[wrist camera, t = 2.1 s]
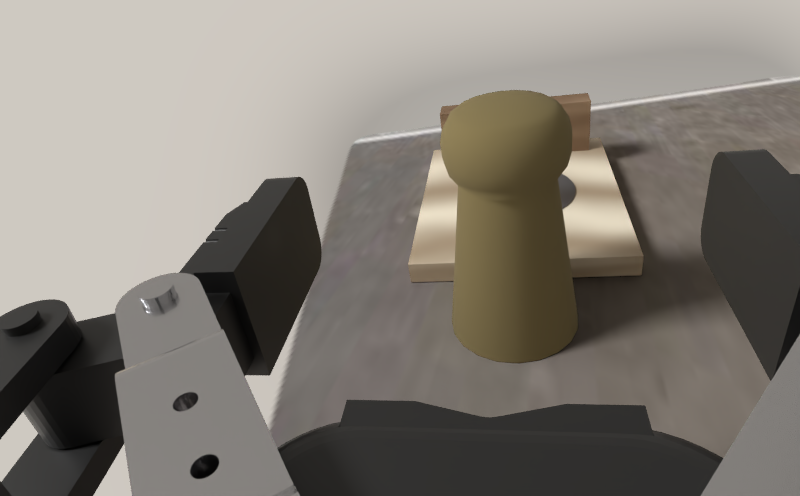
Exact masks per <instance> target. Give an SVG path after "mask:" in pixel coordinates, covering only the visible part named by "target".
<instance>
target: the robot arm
mask: <svg viewBox="0 0 800 496" xmlns="http://www.w3.org/2000/svg"><path fill="white" fill-rule="evenodd" d="M701 244H702V251H703V255H704V257H705V260H706V262H707V263H708V265H709V267H710V269H711V271H712V273H713V275H714V276H715V278H716V280H717V282H718V284H719V286H720V288H721V289H722V291H723V293H724V295H725V297H726V299H727V301H728V302H729V304H730V306H731V308H732V310H733V312H734V314H735V316H736V317H737V319H738V321H739V323H740V325H741V327H742V329H743V330H744V332H745V334H746V336H747V338H748V340H749V342H750V343H751V345H752V347H753V349H754V351H755V353H756V355H757V356H758V358H759V360H760V362H761V364H762V366H763V368H764V369H765V371H766V373H767V375H768V377H769V379H770V381H771V382H770V383H769V385H768V387H767V388H766V390H765V392H764V393H763V395H762V397H761V398H760V400H759V401H758V403H757V405H756V406H755V408H754V410H753V411H752V413H751V414H750V416H749V418H748V419H747V421H746V423H745V424H744V426H743V427H742V429H741V431H740V432H739V434H738V436H737V437H736V439H735V441H734V442H733V444H732V445H731V447H730V449H729V450H728V452H727V454H726V455H725V457H724V458H722V457H720V456H718V455H716V454H714V453H712V452H711V451H709V450H707V449H705V448H703V447H701V446H698V445H696V444H693V443H691V442H689V441H686V440H684V439H681V438H678V437H675V436H672V435H669V434H666V433H662V432H658V431H654V430H652V429H651V425H650V421H649V418H648V414H647V410H646V407H645V406H641V405H588V404H564V405H559V406H553V407H548V408H542V409H537V410H531V411H526V412H521V413H515V414H510V415H504V416H499V417H492V418H489V417H480V416H476V415H471V414H467V413H463V412H459V411H454V410H450V409H446V408H442V407H437V406H433V405H429V404H425V403H420V402H416V401H377V400H347V402H346V405H345V409H344V412H343V416H342V419H341V422H338V423H333V424H330V425H326V426H323V427H320V428H316V429H314V430H311V431H309V432H306V433H304V434H302V435H300V436H298V437H296V438H294V439H292V440H290V441H288V442H286V443H285V444H283V445H281V446H280V447H278V448H277V447H276V445H275V443H274V440H273V438H272V436H271V434H270V432H269V429H268V427H267V425H266V423H265V420H264V419H263V416H262V414H261V412H260V409H259V407H258V405H257V403H256V401H255V398H254V396H253V394H252V392H251V389H250V387H249V385H248V383H247V381H246V379H245V375H270V374H271V371H272V369H273V367H274V365H275V363H276V361H277V359H278V357H279V354H280V352H281V350H282V348H283V346H284V344H285V341H286V339H287V337H288V335H289V333H290V331H291V328H292V326H293V324H294V322H295V320H296V318H297V315H298V313H299V311H300V309H301V307H302V304H303V302H304V300H305V298H306V296H307V294H308V291H309V289H310V287H311V285H312V283H313V281H314V278H315V276H316V274H317V272H318V270H319V267H320V263H321V242H320V237H319V233H318V229H317V225H316V221H315V217H314V213H313V209H312V205H311V201H310V197H309V192H308V188H307V186H306V183H305V181H304V180H303V179H302V178H301V177H292V178H275V179H266V180H265V181H264V182H263V183H262V184H261V186H260V187H259V188H258V190H257V191H256V192H255V193H254V195H253V196H252V197H251V199H250V200H249V201H248V202H244V203H243V204H241V205H240V206H239V207H237V208H235V209H234V210H232V211H231V212H229V213H228V214H226V215H225V217H224V218H223V219H222V220H221V221H220V223H219V224H218V225H217V226H216V228H215V231H212V233H211V234H210V235H209V236H208V237H207V239H206V242H205V243H203V244H202V245H201V246H200V247H199V249H198V250H197V251H196V253H195V254H194V255H193V256H192V257H191V258H190V260H189V261H188V262H187V263H186V265H185V266H184V267H183V268H182V270H181V271H180V272H179V273H171V274H166V275H161V276H158V277H155V278H152V279H150V280H147V281H145V282H143V283H141V284H139V285H137V286H136V287H134V288H133V289H131V290H130V291H128V292H127V293H126V294H125V295H124V296H123V297H122V298H121V299H120V301H119V302H118V304H117V306H116V309H115V314H110V315H106V316H101V317H97V318H92V319H88V320H84V321H79V322H76V320H75V318H74V316H73V315H72V313H71V311H70V309H69V307H68V306H67V304H66V303H64V302H63V301H60V300H42V301H37V302H33V303H29V304H26V305H24V306H21V307H18V308H16V309H14V310H12V311H10V312H8V313H6V314H4V315H2V316H1V317H0V439H1V437H2V436H3V435H4V434H5V433H6V431H7V430H8V429H9V428H10V426H11V425H12V424H13V423H14V422H15V421H16V419H17V418H18V417H19V416H20V414H21V413H22V412H24V414H25V415H26V416H27V418H28V419H29V421H30V422H31V423H32V425H33V426H34V428H35V429H36V430H37V432H38V435H37V436H36V437H35V439H34V440H33V441H32V443H31V444H30V445H29V446H28V448H27V449H26V450H25V452H24V453H23V454H22V456H21V457H20V458H19V460H18V461H17V462H16V464H15V465H14V466H13V467H12V469H11V470H10V472H9V473H8V474H7V476H6V477H5V478H4V480H3V481H2V482H0V496H93V495H94V493H95V491H96V489H97V488H98V486H99V485H100V483H101V481H102V480H103V478H104V476H105V475H106V473H107V471H108V469H109V468H110V466H111V465H112V463H113V461H114V460H115V458H116V456H117V454H118V453H119V451H120V449H121V448H122V446H123V444H125V451H126V457H127V463H128V471H129V478H130V484H131V491H132V496H800V174H790V173H789V172H788V171H787V170H786V169H785V168H784V167H783V166H782V165H781V164H780V163H779V162H778V161H777V160H776V159H775V158H774V157H773V156H772V155H771V154H770V153H769V152H768V151H767V150H765V149H762V150H746V151H730V152H719V153H718V154H717V155H716V156H715V158H714V160H713V164H712V168H711V174H710V180H709V186H708V191H707V197H706V203H705V209H704V215H703V221H702V227H701Z"/></svg>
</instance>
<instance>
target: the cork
mask: <svg viewBox="0 0 800 496" xmlns="http://www.w3.org/2000/svg"><path fill="white" fill-rule="evenodd" d="M440 146H441V154H442V158H443V162H444V165H445V167H446V170H447V172H448V175H449V177H450V178H451V179H452V180H453V181H454V182H455V183H456V184H457V185H458V198H457V221H456V244H455V266H454V289H453V312H452V324H453V328H454V333H455V335H456V336H457V338H458V339H459V340H460V342H461V343H462V344H463V346H464V347H466V348H468V349H469V350H471V351H472V352H474V353H475V354H477V355H478V356H481V357H485V358H488V359H491V360H494V361H497V362H510V363H523V362H530V361H536V360H541V359H543V358H546V357H548V356H551V355H553V354H556V353H558V352H559V351H560V350H562V349H563V348H564V347H565V346H566V345H568V344H569V343H570V342H571V341H572V339H573V337H574V335H575V333H576V331H577V329H578V313H577V306H576V299H575V292H574V285H573V278H572V271H571V265H570V258H569V251H568V244H567V237H566V230H565V223H564V216H563V209H562V202H561V195H560V188H559V181H558V178H559V177H560V175H561V174H562V173H563V172H564V170H565V169H566V168H567V166H568V163H569V160H570V157H571V153H572V126H571V122H570V118H569V116H568V114H567V113H566V111H565V110H564V108H563V107H562V105H561V104H560V103H559V102H558V101H557V100H555V99H553V98H551V97H549V96H546V95H544V94H542V93H537V92H532V91H523V90H522V91H521V90H510V91H498V92H492V93H487V94H483V95H479V96H476V97H473V98H471V99H469V100H466V101H464V102H463V103H461V104H460V105H459V106H457V107H456V108H455V109H453V110H452V111H451V112H450V114H449V116H448V118H447V120H446V122H445V124H444V126H443V129H442V133H441V140H440Z"/></svg>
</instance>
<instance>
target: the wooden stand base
mask: <svg viewBox="0 0 800 496" xmlns="http://www.w3.org/2000/svg"><path fill="white" fill-rule="evenodd" d="M551 98H553V99H555V100H557V101H558V102H559V103H560V104H561V105H562V107H563V108H564V110H565V111H566V113H567V114H568V116H569V118H570V122H571V126H572V153H571V157H570V160H569V163H568V166H567V168H566V169H565V170H564V172H563V173H562V174H561V175H560V177H559V178H558V181H559V188H560V195H561V202H562V209H563V216H564V223H565V230H566V237H567V244H568V251H569V258H570V265H571V271H572V277H602V276H635V275H642V267H643V257H644V256H643V253H642V250H641V248H640V245H639V242H638V239H637V237H636V234H635V231H634V229H633V226H632V223H631V220H630V218H629V215H628V212H627V210H626V207H625V204H624V202H623V199H622V196H621V193H620V191H619V188H618V185H617V183H616V180H615V177H614V174H613V172H612V169H611V166H610V164H609V161H608V158H607V156H606V153H605V150H604V147H603V145H602V142H601V139H600V138H589V136H590V109H591V100H590V98H589V95H588V93H585V94H573V95H562V96H551ZM457 106H459V105H454V106H443V107H442V108H441V113H440V119H441V128H442V129H443V126H444V124H445V122H446V120H447V118H448V116H449V114H450V112H451V111H452V110H453V109H455V108H456V107H457ZM457 198H458V185H457V184H456V183H455V182H454V181H453V180H452V179H451V178H450V177H449V175H448V172H447V170H446V167H445V165H444V162H443V158H442V154H441V150H434V153H433V157H432V162H431V166H430V171H429V175H428V179H427V184H426V188H425V193H424V197H423V202H422V206H421V210H420V215H419V219H418V224H417V228H416V232H415V237H414V241H413V246H412V250H411V254H410V259H409V263H408V266H409V272H410V278H411V282H435V281H454V266H455V244H456V221H457Z"/></svg>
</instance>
